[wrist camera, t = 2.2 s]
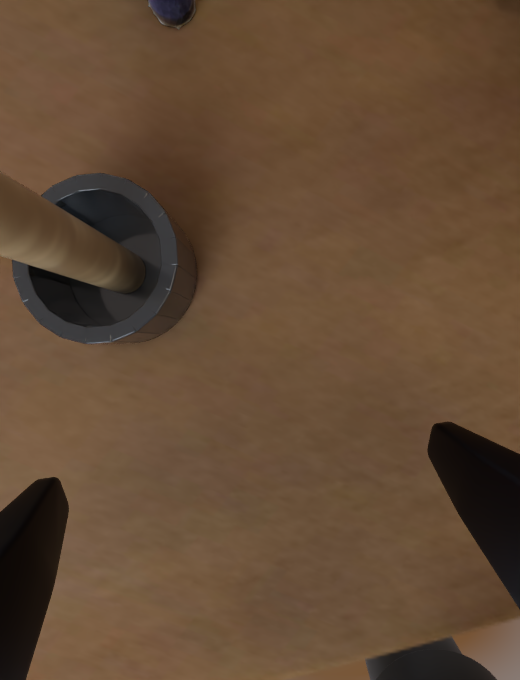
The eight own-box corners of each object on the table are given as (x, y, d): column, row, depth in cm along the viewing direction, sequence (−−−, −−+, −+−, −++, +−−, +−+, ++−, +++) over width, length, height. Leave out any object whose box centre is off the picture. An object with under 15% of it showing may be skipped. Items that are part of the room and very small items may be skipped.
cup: (201, 338, 21) (182, 337, 17) (66, 348, 21) (16, 348, 17) (192, 199, 21) (171, 165, 17) (58, 211, 21) (6, 181, 17)
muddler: (147, 292, 21) (-139, 182, 7) (105, 295, 21) (-260, 195, 7) (144, 249, 21) (-145, 51, 7) (103, 253, 21) (-266, 66, 7)
